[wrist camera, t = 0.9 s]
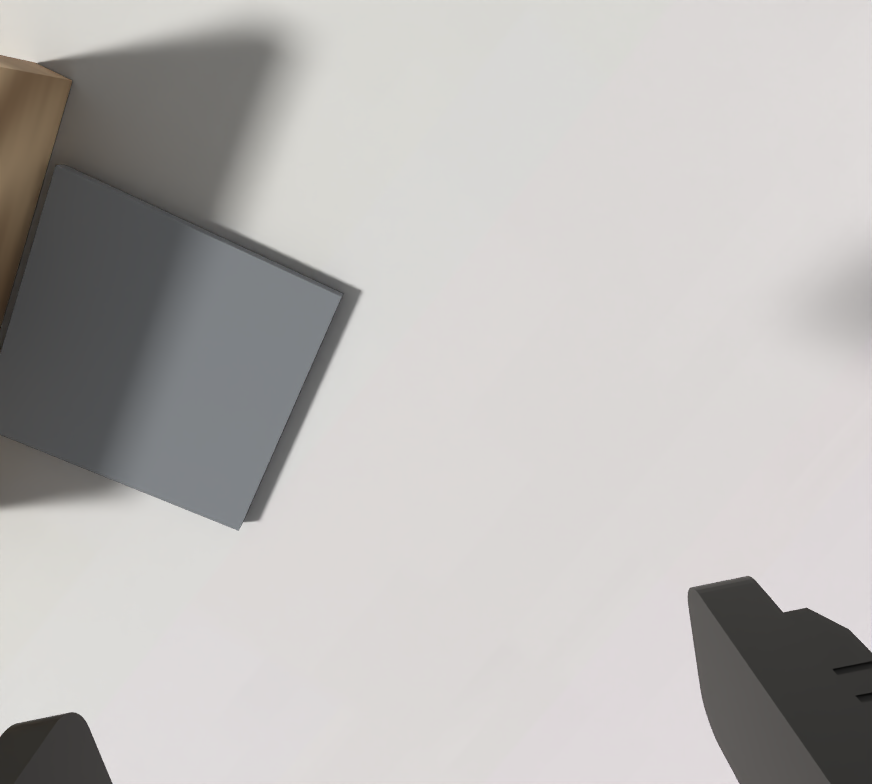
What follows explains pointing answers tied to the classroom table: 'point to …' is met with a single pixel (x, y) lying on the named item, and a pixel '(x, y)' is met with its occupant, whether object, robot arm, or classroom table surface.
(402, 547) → the classroom table surface
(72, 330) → the pad
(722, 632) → the robot arm
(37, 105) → the cubby
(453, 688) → the classroom table surface
